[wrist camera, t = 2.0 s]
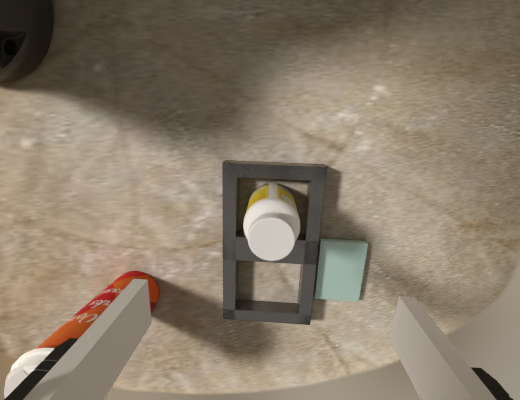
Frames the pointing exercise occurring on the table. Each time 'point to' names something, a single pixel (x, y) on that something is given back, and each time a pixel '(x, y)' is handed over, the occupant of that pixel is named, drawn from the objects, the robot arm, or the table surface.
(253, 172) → the grey rectangular frame
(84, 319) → the coffee cup
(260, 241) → the supplement bottle
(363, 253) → the mat
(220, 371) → the table surface
